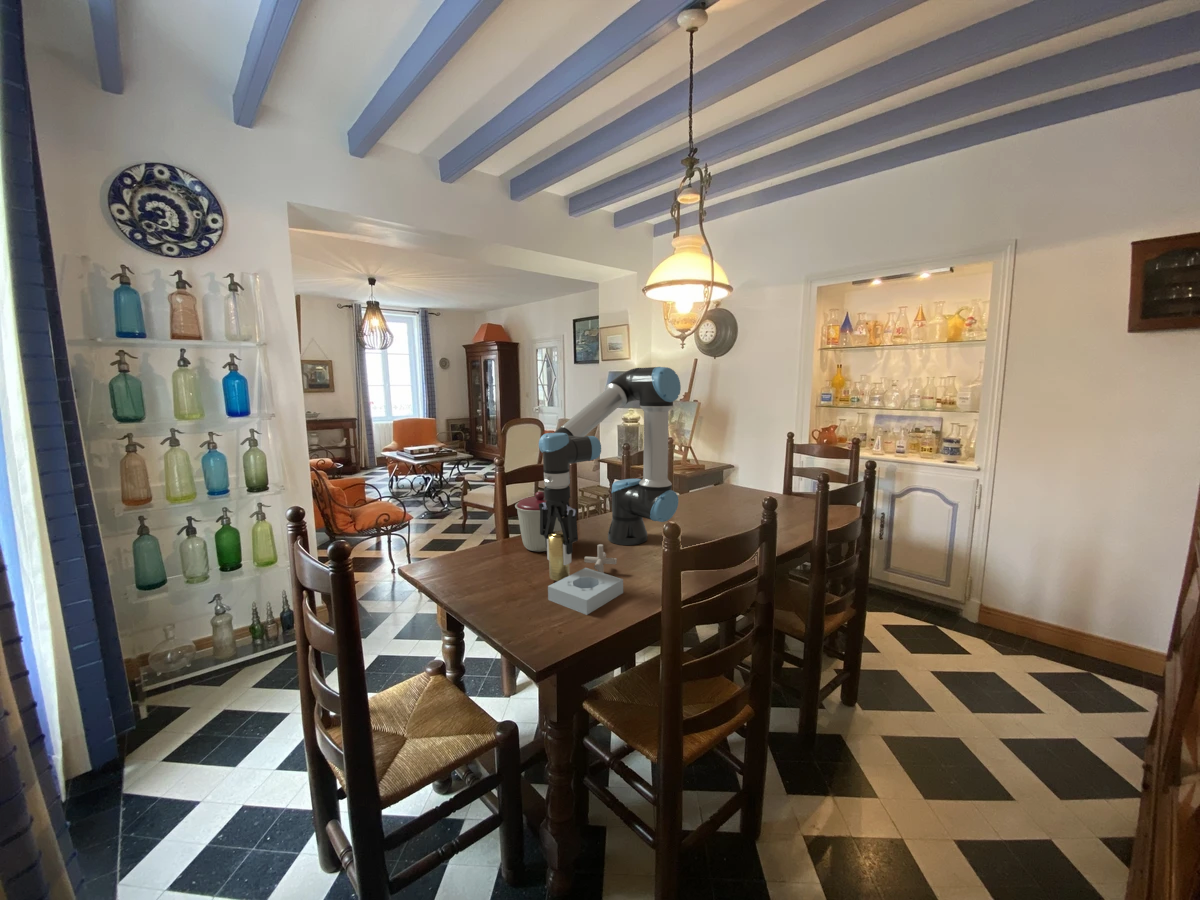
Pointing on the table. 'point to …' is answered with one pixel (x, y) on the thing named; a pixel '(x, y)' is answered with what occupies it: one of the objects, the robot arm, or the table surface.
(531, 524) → the canister
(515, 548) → the table surface
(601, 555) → the pipe connector
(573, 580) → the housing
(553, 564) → the gold metal cylinder
